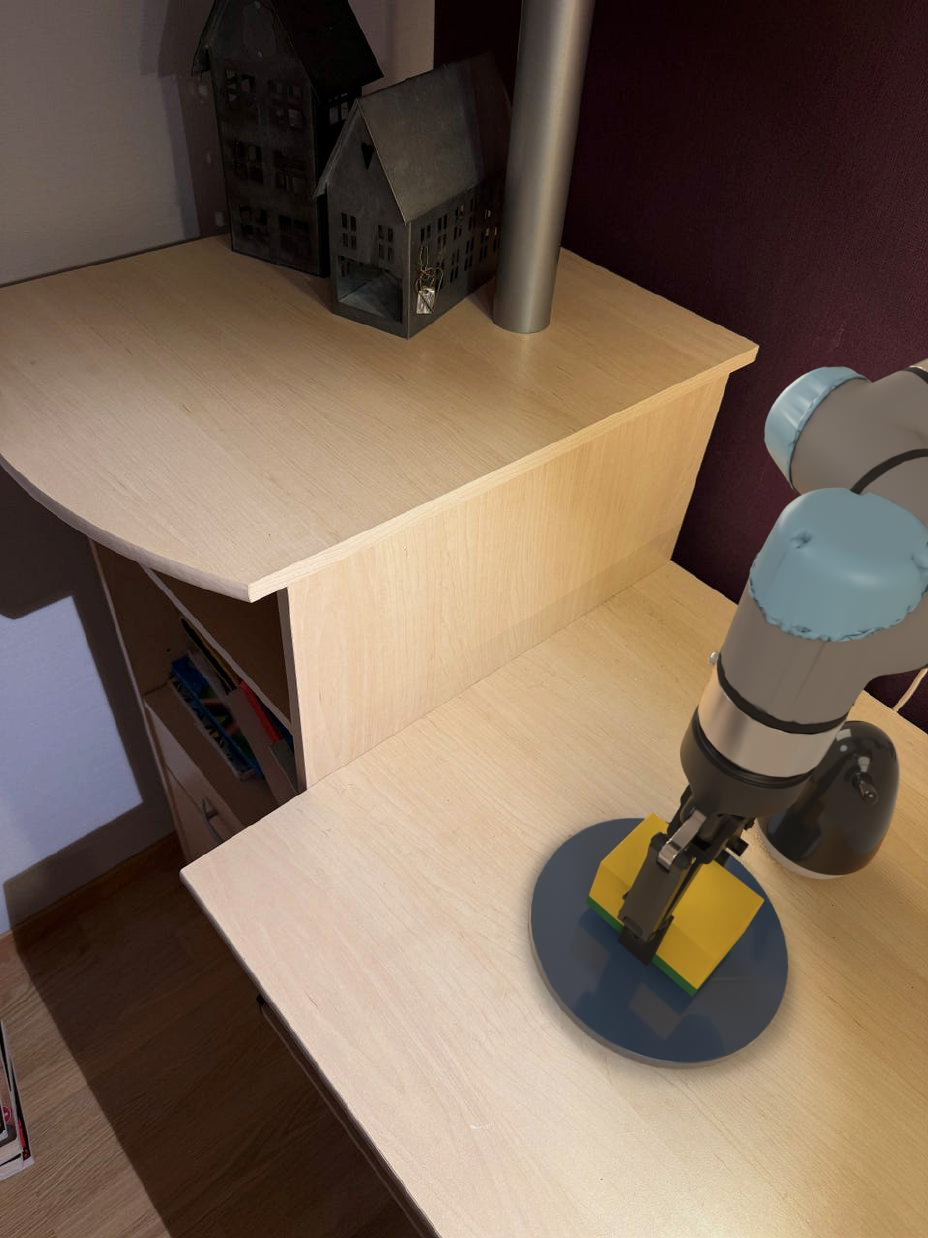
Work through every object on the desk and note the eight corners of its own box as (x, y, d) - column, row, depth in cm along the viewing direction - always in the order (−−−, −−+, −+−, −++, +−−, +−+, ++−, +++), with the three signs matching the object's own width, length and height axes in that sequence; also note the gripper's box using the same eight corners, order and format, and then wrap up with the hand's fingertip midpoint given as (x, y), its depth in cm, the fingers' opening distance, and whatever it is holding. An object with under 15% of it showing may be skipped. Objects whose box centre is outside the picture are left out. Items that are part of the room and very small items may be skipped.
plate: (752, 832, 79) (756, 825, 78) (812, 1076, 64) (818, 1070, 64) (524, 818, 78) (526, 810, 77) (533, 1062, 63) (536, 1056, 63)
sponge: (739, 939, 69) (765, 899, 65) (692, 997, 65) (715, 959, 61) (635, 853, 74) (652, 811, 69) (585, 903, 70) (600, 862, 66)
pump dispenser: (740, 882, 75) (804, 773, 65) (742, 783, 83) (800, 670, 72) (865, 915, 74) (951, 809, 64) (855, 811, 81) (932, 701, 71)
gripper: (785, 620, 60) (693, 815, 76) (607, 782, 50) (543, 969, 66) (889, 685, 57) (770, 874, 73) (722, 873, 46) (625, 1047, 62)
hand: (662, 919), depth 69 cm, fingers closed on sponge, 6 cm apart
